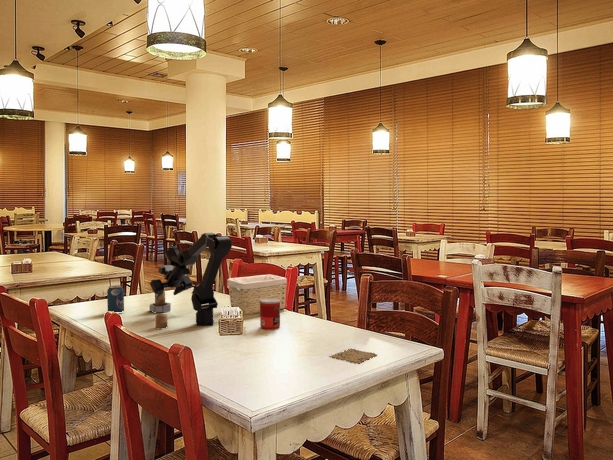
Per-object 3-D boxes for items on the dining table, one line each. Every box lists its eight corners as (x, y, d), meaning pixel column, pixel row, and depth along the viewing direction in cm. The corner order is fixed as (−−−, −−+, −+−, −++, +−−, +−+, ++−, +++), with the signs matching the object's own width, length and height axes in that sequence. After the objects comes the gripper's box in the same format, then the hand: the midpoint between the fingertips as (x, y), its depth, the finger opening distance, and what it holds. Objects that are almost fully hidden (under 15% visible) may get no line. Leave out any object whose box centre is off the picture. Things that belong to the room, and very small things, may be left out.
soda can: (120, 314, 232) (120, 287, 231) (105, 314, 232) (104, 287, 231) (126, 311, 239) (125, 285, 238) (111, 311, 239) (110, 285, 238)
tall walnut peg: (167, 310, 241) (166, 284, 240) (162, 312, 237) (161, 285, 236) (158, 309, 242) (157, 283, 242) (153, 311, 238) (152, 285, 237)
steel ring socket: (171, 308, 245) (171, 302, 244) (169, 312, 236) (168, 306, 236) (151, 309, 243) (151, 302, 243) (148, 313, 235) (148, 306, 234)
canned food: (277, 330, 205) (277, 302, 205) (257, 329, 207) (257, 301, 206) (282, 325, 213) (282, 298, 212) (263, 324, 215) (263, 297, 214)
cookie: (348, 349, 181) (348, 347, 181) (378, 356, 173) (379, 353, 173) (327, 358, 172) (327, 355, 172) (359, 365, 164) (359, 362, 164)
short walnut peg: (168, 326, 212) (167, 313, 212) (166, 328, 208) (166, 316, 207) (156, 326, 211) (156, 314, 211) (154, 329, 207) (154, 316, 207)
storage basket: (242, 316, 230) (242, 282, 229) (226, 309, 243) (225, 277, 242) (288, 309, 243) (288, 277, 242) (270, 303, 257) (270, 273, 256)
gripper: (188, 257, 238) (175, 279, 247) (151, 261, 225) (139, 284, 233) (199, 276, 233) (185, 298, 241) (161, 281, 220) (148, 304, 228)
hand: (165, 295), depth 236 cm, fingers open, 9 cm apart
